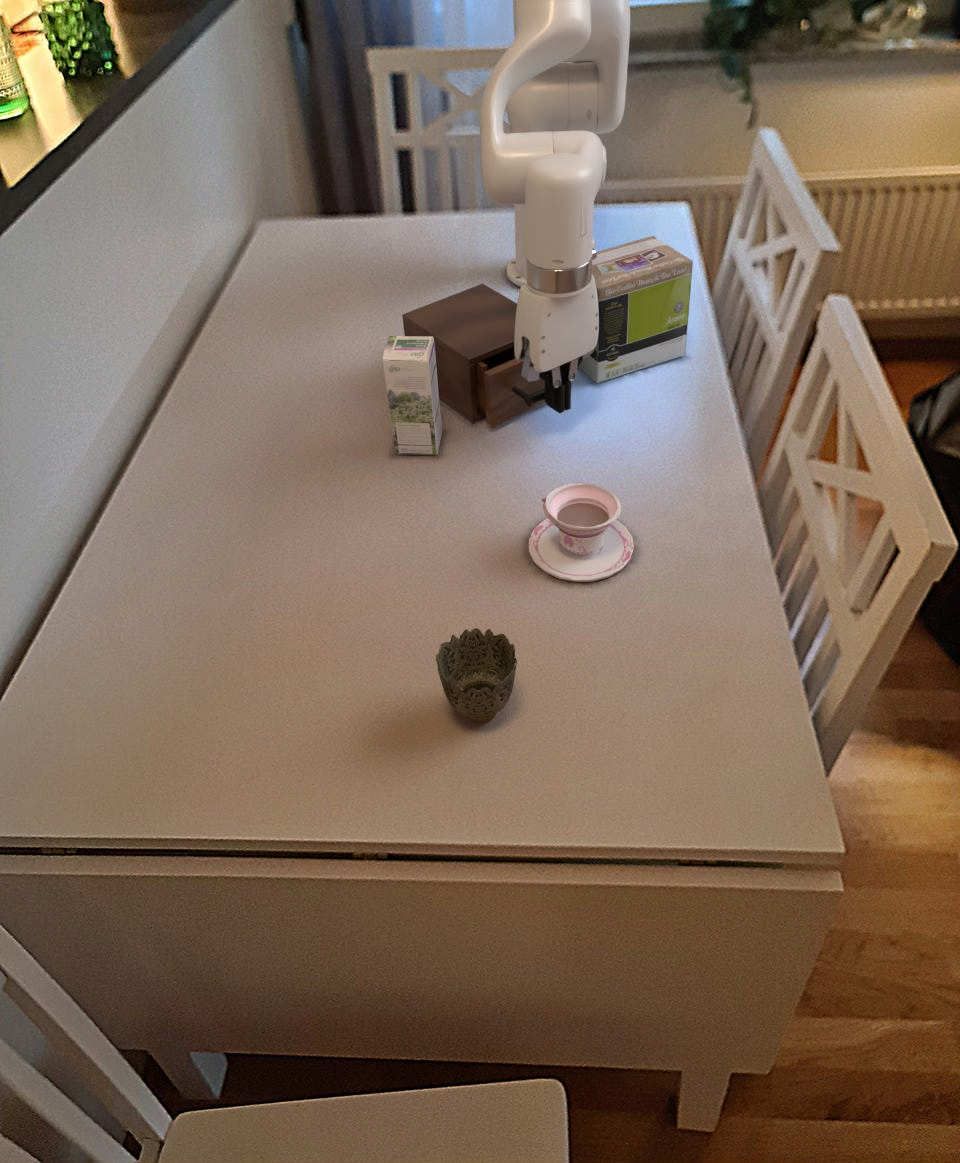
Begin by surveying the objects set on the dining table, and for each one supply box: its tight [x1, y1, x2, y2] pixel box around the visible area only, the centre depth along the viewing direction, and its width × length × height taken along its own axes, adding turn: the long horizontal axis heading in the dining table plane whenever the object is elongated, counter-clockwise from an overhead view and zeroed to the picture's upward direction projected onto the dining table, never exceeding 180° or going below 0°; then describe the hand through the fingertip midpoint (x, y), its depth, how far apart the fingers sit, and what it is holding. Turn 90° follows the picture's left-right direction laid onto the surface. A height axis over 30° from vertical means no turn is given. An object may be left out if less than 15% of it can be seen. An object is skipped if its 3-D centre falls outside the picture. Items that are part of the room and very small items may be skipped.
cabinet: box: [401, 283, 518, 424], centre depth 132 cm, size 16×14×10 cm
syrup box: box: [381, 335, 443, 456], centre depth 120 cm, size 6×6×14 cm
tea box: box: [578, 235, 694, 384], centre depth 133 cm, size 15×10×15 cm
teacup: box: [528, 482, 635, 583], centre depth 106 cm, size 12×12×6 cm
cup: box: [435, 627, 518, 724], centre depth 89 cm, size 8×7×8 cm
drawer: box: [474, 347, 546, 428], centre depth 128 cm, size 19×13×8 cm, turn 36°
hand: (557, 406), depth 121 cm, fingers closed
